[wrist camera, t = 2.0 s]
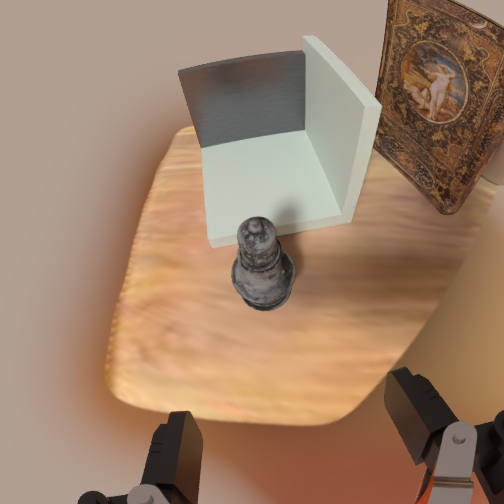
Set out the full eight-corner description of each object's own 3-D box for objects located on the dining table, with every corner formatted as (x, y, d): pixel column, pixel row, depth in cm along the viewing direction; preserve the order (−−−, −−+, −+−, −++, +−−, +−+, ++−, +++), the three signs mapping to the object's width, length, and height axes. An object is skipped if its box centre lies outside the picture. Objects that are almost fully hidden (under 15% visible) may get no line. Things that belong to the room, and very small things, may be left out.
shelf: (312, 134, 40) (314, 35, 26) (350, 222, 32) (381, 106, 18) (203, 153, 40) (174, 56, 26) (212, 248, 32) (163, 138, 18)
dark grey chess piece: (225, 291, 30) (192, 229, 19) (260, 250, 32) (247, 173, 21) (270, 325, 28) (261, 277, 17) (305, 280, 29) (316, 210, 19)
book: (465, 203, 32) (542, 53, 10) (446, 220, 31) (534, 52, 9) (388, 131, 39) (415, -16, 17) (365, 141, 38) (388, -21, 16)
